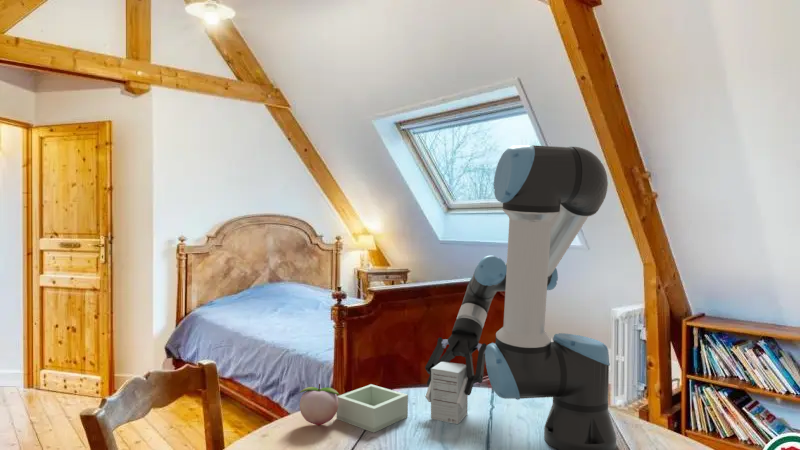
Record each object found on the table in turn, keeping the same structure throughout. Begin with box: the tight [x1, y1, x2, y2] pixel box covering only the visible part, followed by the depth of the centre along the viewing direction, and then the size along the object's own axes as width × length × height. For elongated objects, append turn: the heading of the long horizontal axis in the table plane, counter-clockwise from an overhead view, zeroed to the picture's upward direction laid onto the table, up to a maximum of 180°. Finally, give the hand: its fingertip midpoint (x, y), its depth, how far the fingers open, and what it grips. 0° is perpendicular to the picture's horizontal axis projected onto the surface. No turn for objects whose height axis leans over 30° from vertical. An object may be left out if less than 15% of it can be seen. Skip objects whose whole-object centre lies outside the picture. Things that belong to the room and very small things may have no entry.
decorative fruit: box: [299, 383, 340, 427], centre depth 121 cm, size 9×8×10 cm
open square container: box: [336, 383, 409, 433], centre depth 127 cm, size 12×12×6 cm
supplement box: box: [430, 361, 469, 425], centre depth 128 cm, size 7×7×13 cm
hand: (443, 402), depth 125 cm, fingers closed on supplement box, 8 cm apart
